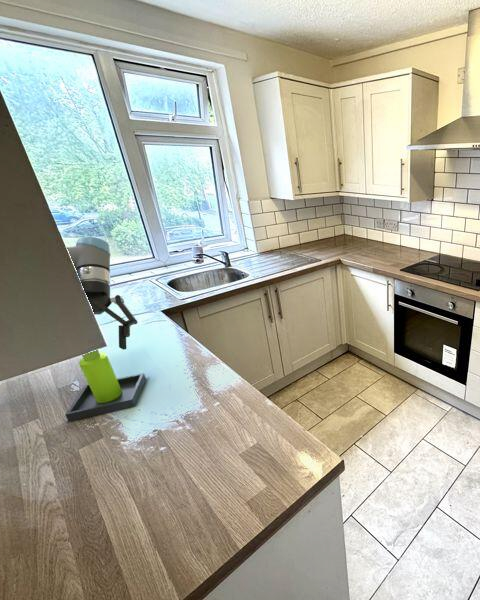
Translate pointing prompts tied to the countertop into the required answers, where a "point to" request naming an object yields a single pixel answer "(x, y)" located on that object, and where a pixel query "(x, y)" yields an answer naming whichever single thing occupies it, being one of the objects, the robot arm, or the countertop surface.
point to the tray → (90, 407)
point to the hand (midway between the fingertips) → (92, 353)
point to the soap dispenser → (100, 376)
